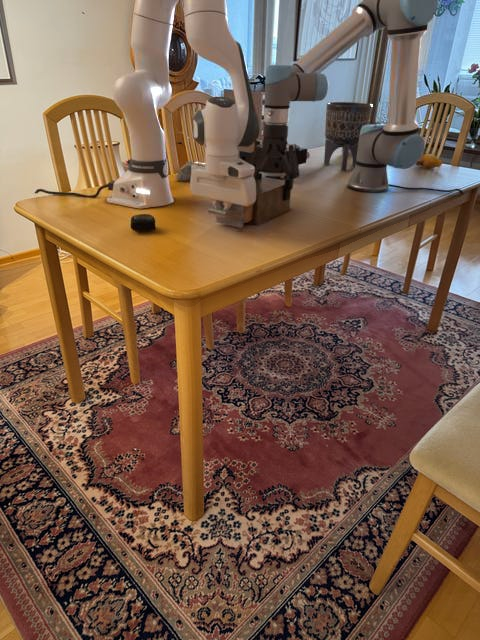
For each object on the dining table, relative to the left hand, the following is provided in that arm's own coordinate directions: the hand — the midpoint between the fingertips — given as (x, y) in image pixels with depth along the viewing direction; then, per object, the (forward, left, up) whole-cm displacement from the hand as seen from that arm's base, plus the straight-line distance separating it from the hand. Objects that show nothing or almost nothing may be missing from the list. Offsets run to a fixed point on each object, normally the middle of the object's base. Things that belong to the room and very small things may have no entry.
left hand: (222, 215), depth 128 cm
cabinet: (+6, +20, -5) cm, 21 cm away
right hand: (+8, +27, 0) cm, 28 cm away
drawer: (+3, +10, -4) cm, 11 cm away
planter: (+21, +104, -5) cm, 106 cm away
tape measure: (-21, -8, -5) cm, 22 cm away
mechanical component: (-2, +80, -5) cm, 80 cm away
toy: (+59, +120, -5) cm, 134 cm away
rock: (-32, +54, -5) cm, 63 cm away
